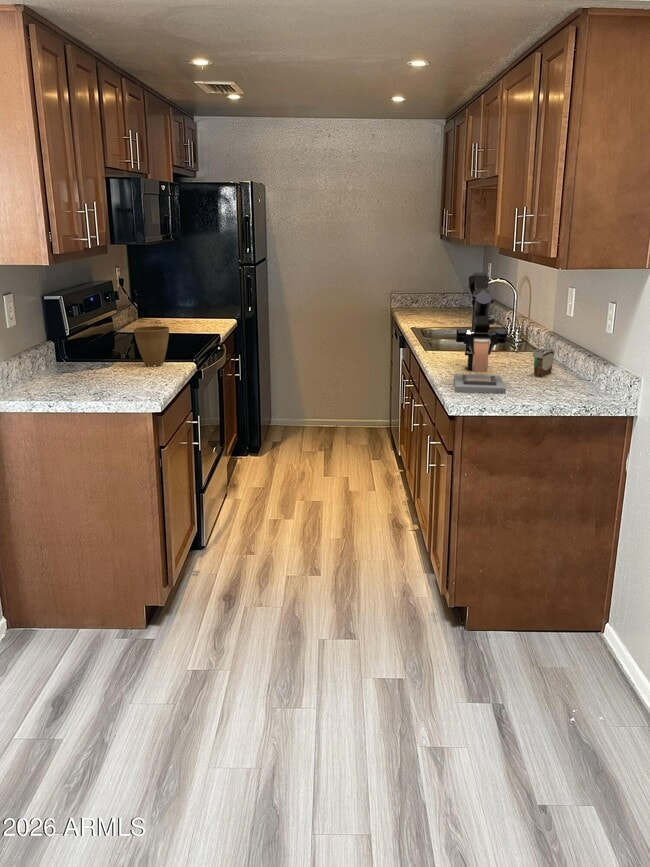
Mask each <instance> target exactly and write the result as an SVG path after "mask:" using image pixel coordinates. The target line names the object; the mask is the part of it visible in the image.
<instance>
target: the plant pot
mask: <svg viewBox="0 0 650 867" xmlns="http://www.w3.org/2000/svg"><path fill="white" fill-rule="evenodd" d="M133 333H134V338H135V342H136V345H137V346H136V347H137V349H138V351H139V354H140V357H141V359H142V362H143V363H144V366H145V365H149V366H154V365H161V364H163V365H164V361H165V359H166V354H167V350H168V343H169V336H170V327H169V326H165V325H164V326H163V325H148V326H138V327H134V328H133ZM149 366H148V367H149ZM161 366H162V365H161Z"/></svg>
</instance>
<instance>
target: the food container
mask: <svg viewBox="0 0 650 867" xmlns="http://www.w3.org/2000/svg"><path fill="white" fill-rule="evenodd" d="M554 356H555V349H553V348H539V349H534V351H533V352H532V357H533V361H534V362H533V376H534V377H537V376H538V378H543V377H547V376H549V375H552V371H553V363H554ZM546 375H547V376H546Z"/></svg>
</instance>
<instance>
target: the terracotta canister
mask: <svg viewBox="0 0 650 867" xmlns="http://www.w3.org/2000/svg"><path fill="white" fill-rule="evenodd" d="M490 340H491V339H487V338H475V339H474V354H473V367H472V371H471V372H475V373H487V372H488V367H489V366H488V365H489V346H490Z"/></svg>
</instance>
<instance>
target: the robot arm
mask: <svg viewBox="0 0 650 867" xmlns="http://www.w3.org/2000/svg"><path fill="white" fill-rule="evenodd" d="M489 286H490V277H489V276H488V275H487V273H486V272H475V273H474V272H473V274H472V275H470V276H469V277H468V280H467V288H468V293H469V295H470V305H471V308H472V309H471V330H468V327H467V328H465V327H464V328H461V327H460V328H459V327H458V328H457V329H456V333H455V342H456V343H463V345H465V346H464V356H467V365H466V366H464V369H466V370H467V371H469V370H472V367H473V354H474V339H475V338H487V339H490V342H489V354H488V356H491V353H492V350H493V349H494V347H495V346H497V345H498V344H506V342H507V336H508V331H507V329H500V328H499V329H497V328H496V330H495V332H490V328H491V327H490V326H492V325H493V326H494V325H495V315H493V314H490V315H489V312H490V309H491V305H493V304H494V298H493V297H492V296H491V293H490V291H489V290H487V289H489Z"/></svg>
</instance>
